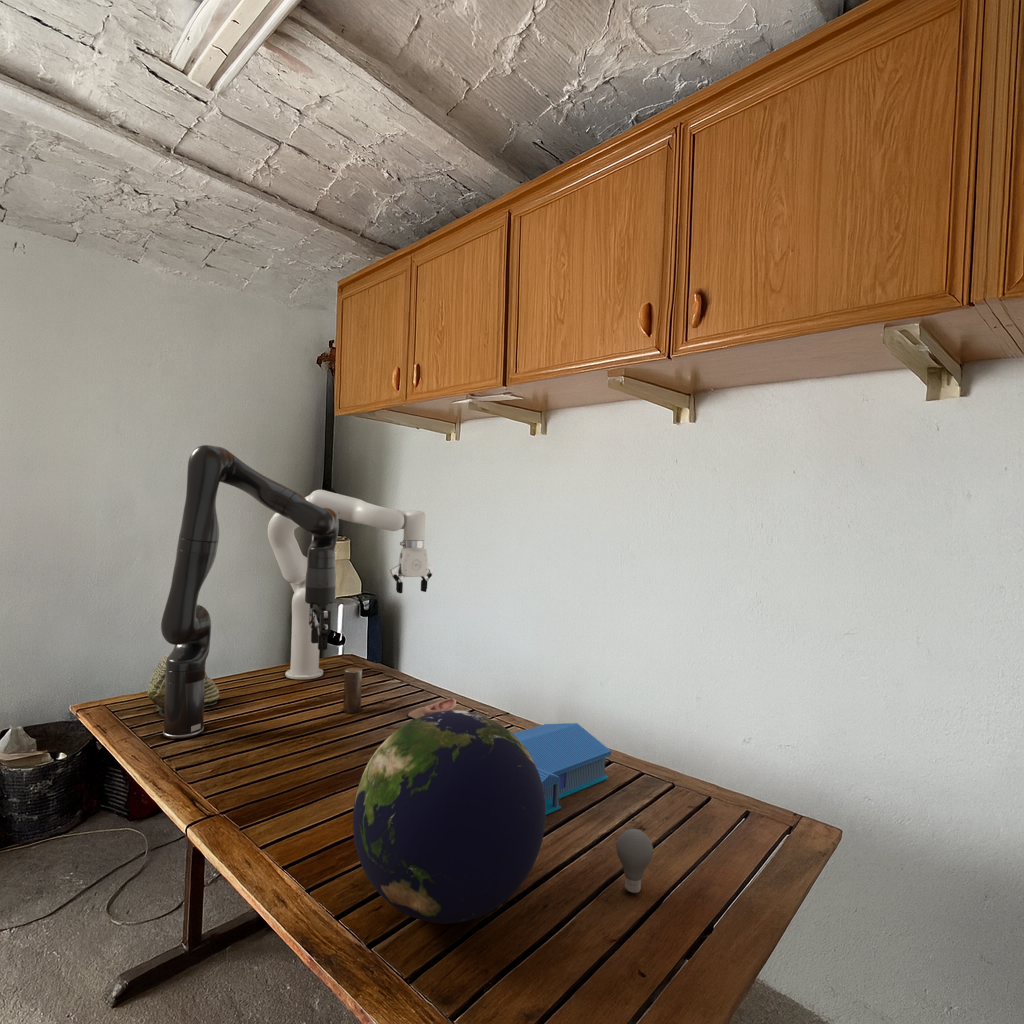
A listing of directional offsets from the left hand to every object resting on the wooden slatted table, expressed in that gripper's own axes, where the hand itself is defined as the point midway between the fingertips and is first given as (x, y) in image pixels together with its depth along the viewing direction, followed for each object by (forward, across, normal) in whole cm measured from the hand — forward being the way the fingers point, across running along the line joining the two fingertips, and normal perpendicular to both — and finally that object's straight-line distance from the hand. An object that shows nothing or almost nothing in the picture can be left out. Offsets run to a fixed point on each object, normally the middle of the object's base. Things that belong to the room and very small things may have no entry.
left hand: (318, 646), depth 165 cm
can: (+24, +17, -14) cm, 33 cm away
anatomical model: (+24, +5, -34) cm, 42 cm away
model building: (+25, -47, -35) cm, 63 cm away
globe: (+24, -78, -4) cm, 81 cm away
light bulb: (+25, -87, -33) cm, 97 cm away
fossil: (+24, +38, +30) cm, 54 cm away
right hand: (-5, +49, -43) cm, 65 cm away
